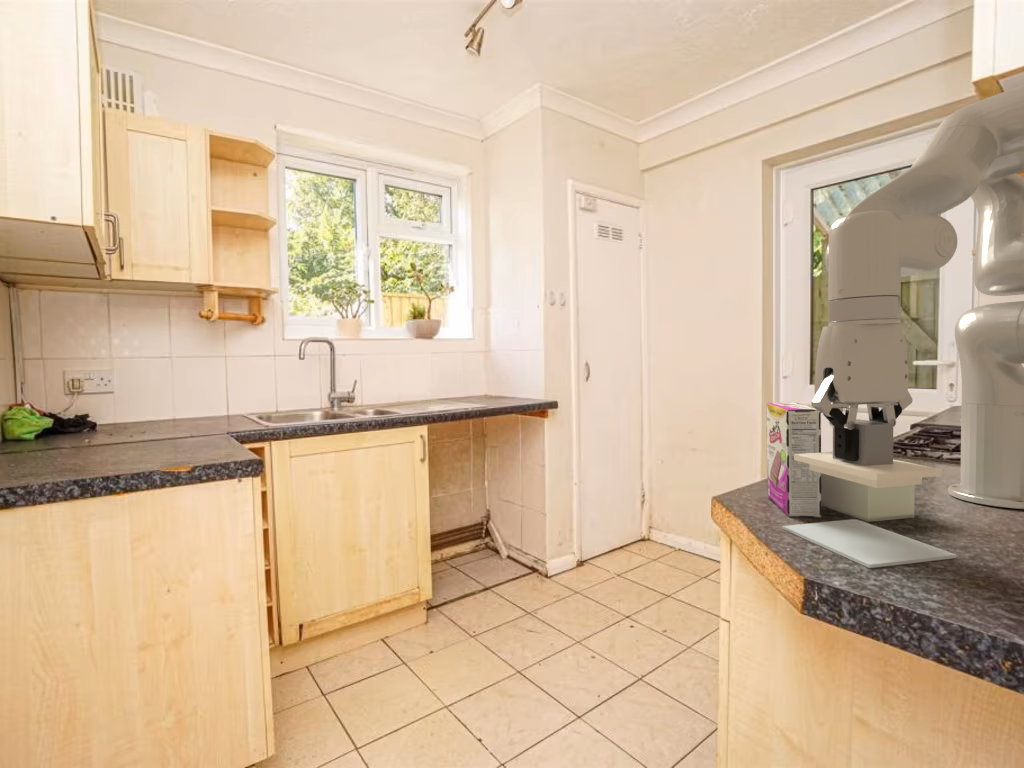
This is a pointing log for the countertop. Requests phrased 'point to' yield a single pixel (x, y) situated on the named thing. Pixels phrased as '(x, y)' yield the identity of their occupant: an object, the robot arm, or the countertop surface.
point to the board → (867, 543)
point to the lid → (870, 460)
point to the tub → (867, 499)
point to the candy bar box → (788, 478)
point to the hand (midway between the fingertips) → (862, 456)
